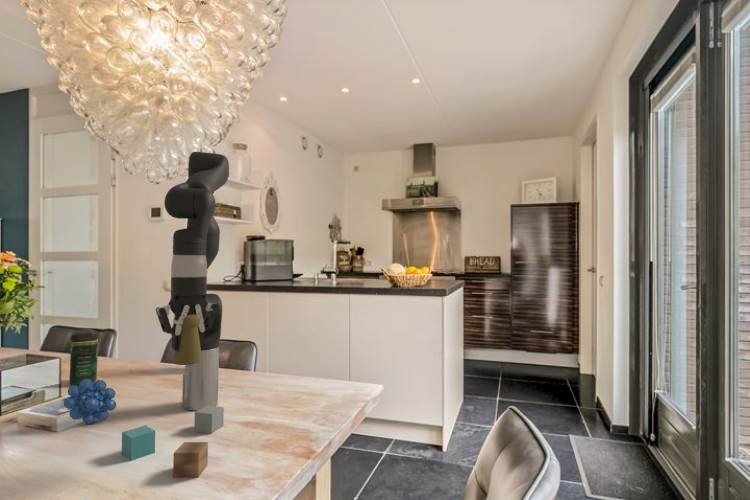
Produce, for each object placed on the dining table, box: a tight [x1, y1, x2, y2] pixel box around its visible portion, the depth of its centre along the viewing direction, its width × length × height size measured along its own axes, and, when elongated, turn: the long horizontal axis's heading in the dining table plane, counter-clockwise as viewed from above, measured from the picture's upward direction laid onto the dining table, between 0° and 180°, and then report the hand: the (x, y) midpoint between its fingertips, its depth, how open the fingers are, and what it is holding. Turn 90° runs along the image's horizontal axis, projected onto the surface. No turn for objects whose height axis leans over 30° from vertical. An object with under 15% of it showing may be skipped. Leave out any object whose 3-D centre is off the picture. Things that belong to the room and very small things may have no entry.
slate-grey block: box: [193, 405, 225, 434], centre depth 108 cm, size 5×5×5 cm
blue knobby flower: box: [63, 379, 117, 425], centre depth 110 cm, size 12×7×12 cm, turn 128°
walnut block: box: [172, 441, 209, 479], centre depth 87 cm, size 5×5×5 cm
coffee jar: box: [69, 328, 99, 387], centre depth 147 cm, size 10×8×19 cm
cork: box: [173, 314, 202, 366], centre depth 96 cm, size 6×6×11 cm
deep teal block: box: [121, 425, 156, 462], centre depth 94 cm, size 5×5×5 cm
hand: (187, 349), depth 96 cm, fingers closed on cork, 4 cm apart
